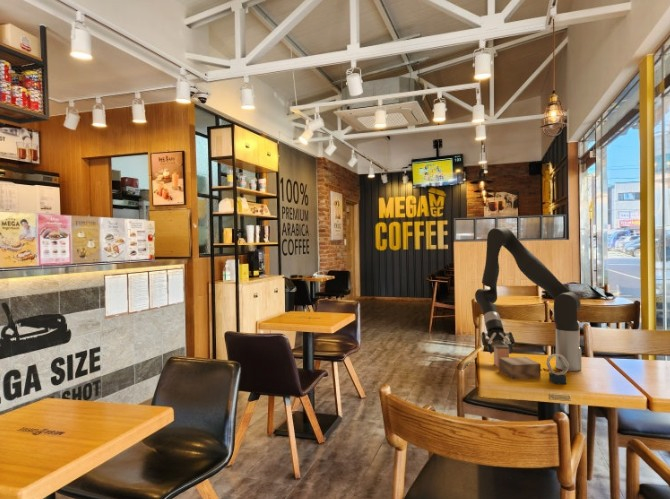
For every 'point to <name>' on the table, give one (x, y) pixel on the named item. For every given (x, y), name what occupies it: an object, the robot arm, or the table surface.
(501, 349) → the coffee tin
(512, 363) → the walnut block
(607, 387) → the table surface
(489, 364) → the table surface
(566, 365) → the watch
